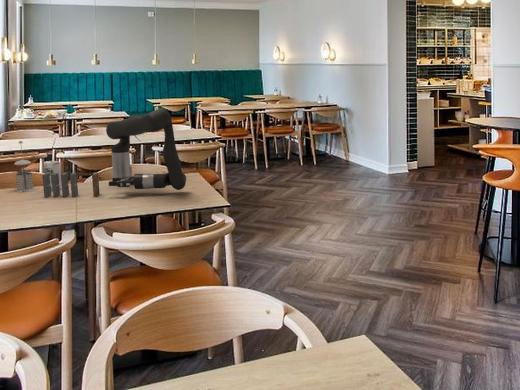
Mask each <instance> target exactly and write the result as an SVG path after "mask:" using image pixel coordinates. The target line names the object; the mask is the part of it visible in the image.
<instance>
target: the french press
mask: <svg viewBox="0 0 520 390" xmlns="http://www.w3.org/2000/svg"><path fill="white" fill-rule="evenodd" d="M23 143H24V142H23V141H22V140H19V141H18V144H19V145H22V144H23ZM20 150H21V154H23V150H22V147H20ZM31 164H32V162H31V161H30V160H28V159H23V157H21V159H20V160H16V161H15V162H14V164H13V165H14V166H22V167H21V169H20V170H16V171H15V172H16V174H15V180H16V181H15V182H16V188H15V190H16V191H15V192H18V191H24V192H31V191H35V190H36V187H34V181H33V180H34V179H33V173H32V170H31V169H27V168H26V166H27V165H31ZM23 166H24V167H23Z"/></svg>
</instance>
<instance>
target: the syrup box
mask: <svg viewBox="0 0 520 390" xmlns="http://www.w3.org/2000/svg"><path fill="white" fill-rule="evenodd" d="M43 169H44V170H43V171H44V174H45V173H49V174H50V185H51V192H53V186H52V174H54V173H59V185H60V190H62V184H61V174H62V173H61V162H60V161H57V160H55V161H54V160H48V161H47V160H46V161H43Z"/></svg>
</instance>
